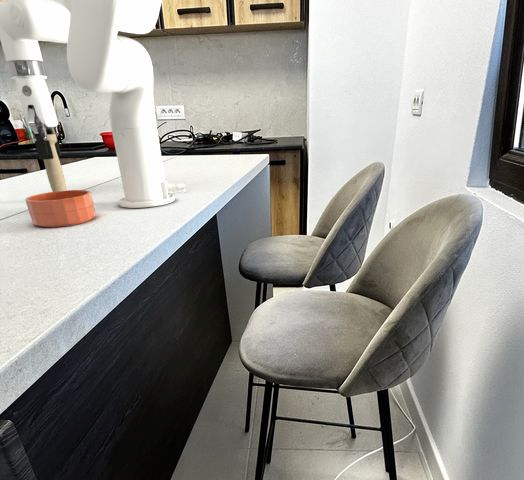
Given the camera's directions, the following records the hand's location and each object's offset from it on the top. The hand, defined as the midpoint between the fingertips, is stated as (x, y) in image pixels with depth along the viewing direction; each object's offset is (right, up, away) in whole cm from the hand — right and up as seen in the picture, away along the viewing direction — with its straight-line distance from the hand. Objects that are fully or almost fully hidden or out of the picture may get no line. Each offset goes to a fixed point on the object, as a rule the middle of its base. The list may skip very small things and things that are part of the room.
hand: (50, 157), depth 106 cm
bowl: (+13, -22, -19) cm, 32 cm away
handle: (+1, -9, +5) cm, 10 cm away
